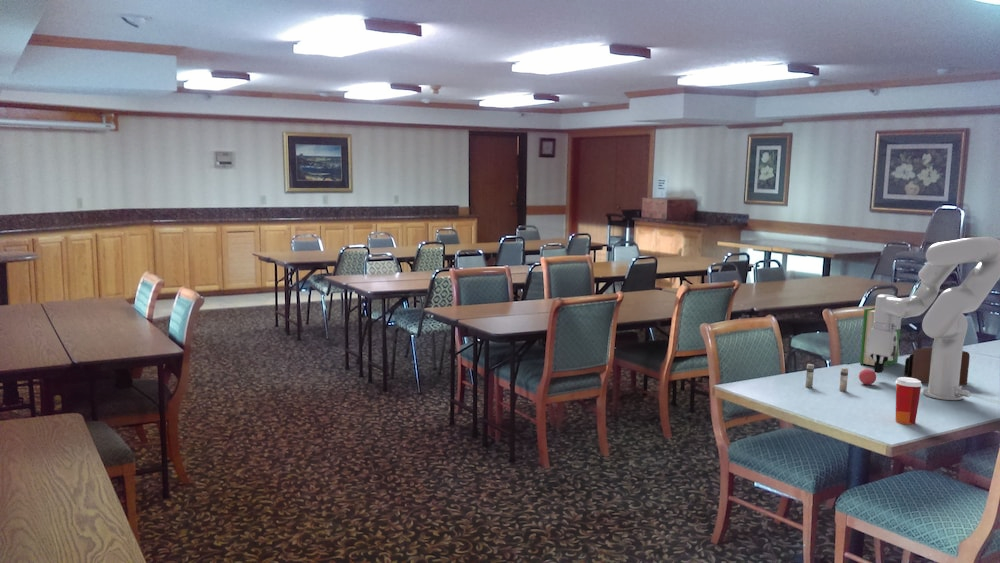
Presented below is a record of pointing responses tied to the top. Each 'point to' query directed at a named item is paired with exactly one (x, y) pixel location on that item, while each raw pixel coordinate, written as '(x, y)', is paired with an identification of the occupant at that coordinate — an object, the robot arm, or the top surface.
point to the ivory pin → (843, 379)
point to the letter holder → (920, 365)
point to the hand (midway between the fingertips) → (878, 372)
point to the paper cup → (907, 399)
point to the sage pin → (809, 375)
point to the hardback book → (866, 330)
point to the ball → (867, 376)
